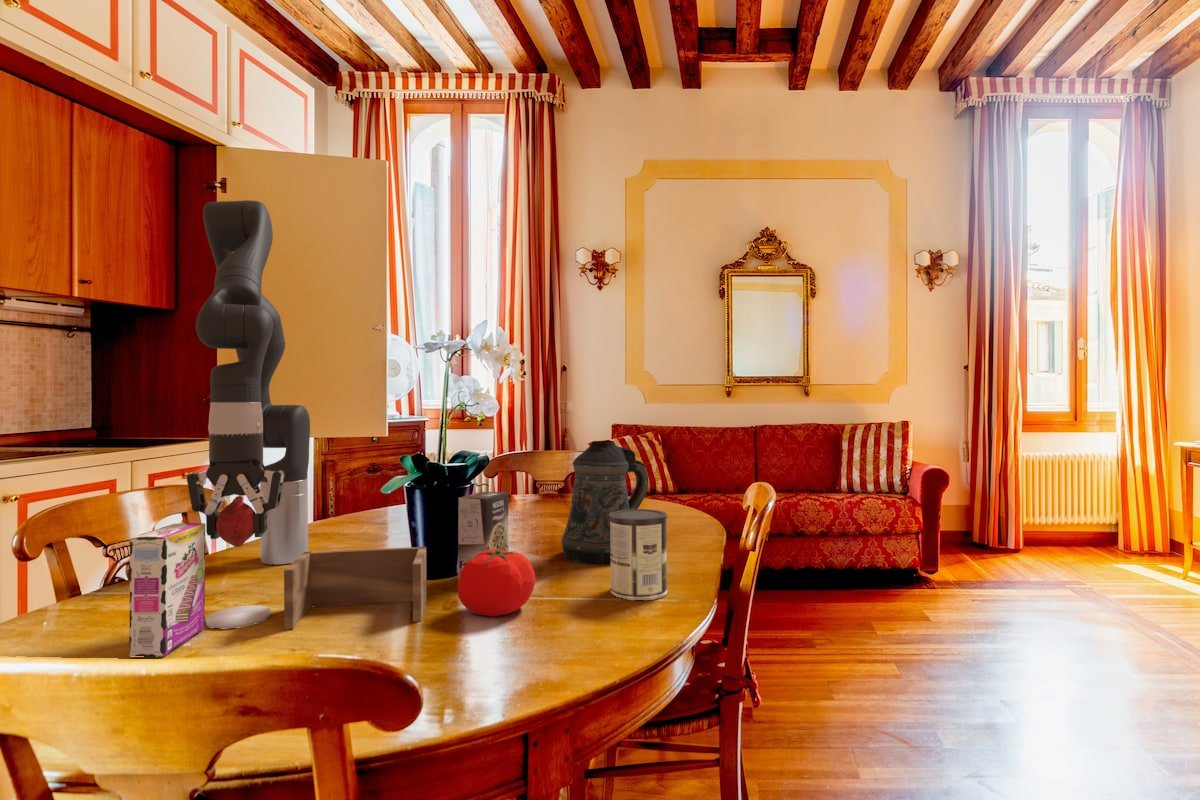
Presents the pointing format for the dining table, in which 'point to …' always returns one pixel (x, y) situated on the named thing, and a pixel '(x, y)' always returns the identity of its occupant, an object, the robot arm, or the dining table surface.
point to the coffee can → (638, 554)
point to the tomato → (496, 582)
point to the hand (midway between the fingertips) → (237, 536)
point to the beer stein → (600, 499)
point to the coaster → (238, 616)
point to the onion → (236, 522)
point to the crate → (355, 580)
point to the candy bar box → (166, 588)
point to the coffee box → (481, 524)
